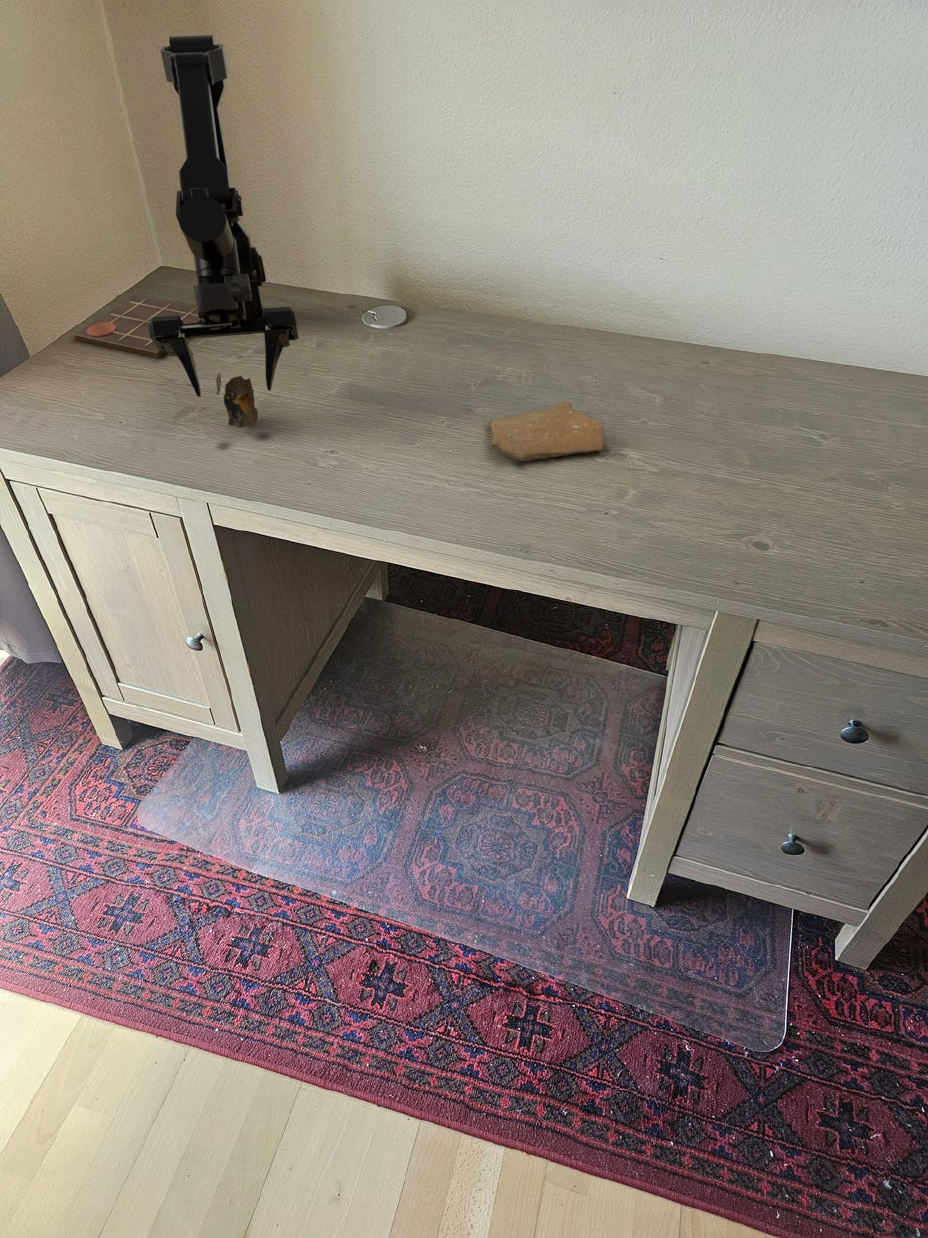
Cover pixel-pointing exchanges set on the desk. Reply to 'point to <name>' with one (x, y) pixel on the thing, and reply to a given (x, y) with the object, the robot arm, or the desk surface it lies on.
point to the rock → (239, 401)
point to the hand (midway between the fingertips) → (234, 392)
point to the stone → (546, 433)
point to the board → (135, 324)
